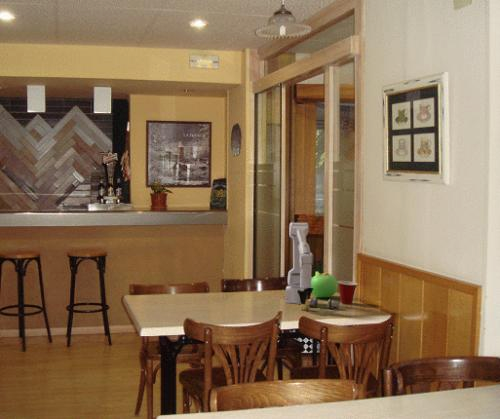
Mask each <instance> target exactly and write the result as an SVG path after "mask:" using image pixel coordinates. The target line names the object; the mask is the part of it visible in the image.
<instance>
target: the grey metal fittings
mask: <svg viewBox="0 0 500 419" xmlns="http://www.w3.org/2000/svg"><path fill="white" fill-rule="evenodd" d="M327 301H328V303H327V306H323V305H318V302H319V300H318V297H314V298H311V297H310V300H309V309H311V308H315V309H316V308H320V309H319V310H330V309H331V310H332V309H333V311H338V310H339V309H340V301H339V300H334V299H332V298H329V299H328V300H327ZM328 308H329V309H328ZM337 309H338V310H337Z"/></svg>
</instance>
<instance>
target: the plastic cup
mask: <svg viewBox="0 0 500 419" xmlns="http://www.w3.org/2000/svg"><path fill="white" fill-rule="evenodd" d="M337 283H338V290H339V297H340V303H341V304H342V305H352V304H353V300H354V297H355V291H356V287H357V286H358V283H357V282H354V281H348V280H338V281H337ZM351 303H352V304H351Z"/></svg>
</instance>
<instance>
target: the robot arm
mask: <svg viewBox="0 0 500 419" xmlns="http://www.w3.org/2000/svg"><path fill="white" fill-rule="evenodd" d="M288 230H289V231H288V234H289V235H288V236H289V238H291V239H292V268H291V269H290V270H288V273H287V286H286V287H285V301H284V302H285V303H286V304H297V305H298V304H300V305H301V304H305V303H306V297H307V296H308V297H307V298H309V300H310V298H311V295H312V291H313V288H310V287H313V286H312V285H311V277H312V270H313V269H312V268H313V264H314V254H313V253H312V252H311V249H310V245H309V243H308V242H307V236H308V233H309V224H308V222H290V223H289V228H288Z"/></svg>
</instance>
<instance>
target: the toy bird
mask: <svg viewBox="0 0 500 419" xmlns="http://www.w3.org/2000/svg"><path fill="white" fill-rule="evenodd" d="M311 285H312V286H313V287H310V288H313V291H312V293H311V295H312V296H315V298H320V299H326V298H330V297H332V296H334V295H335V294H336V293H337V292H338V290H339V284H338V281H337V279H336V277H335V276H333V275H332V274H330V273H329V272H324V273H323V272H322V273H320V272H319V271H315V275H314V276H311Z"/></svg>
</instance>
